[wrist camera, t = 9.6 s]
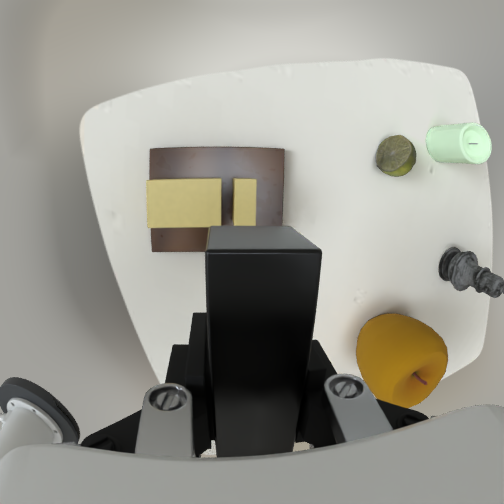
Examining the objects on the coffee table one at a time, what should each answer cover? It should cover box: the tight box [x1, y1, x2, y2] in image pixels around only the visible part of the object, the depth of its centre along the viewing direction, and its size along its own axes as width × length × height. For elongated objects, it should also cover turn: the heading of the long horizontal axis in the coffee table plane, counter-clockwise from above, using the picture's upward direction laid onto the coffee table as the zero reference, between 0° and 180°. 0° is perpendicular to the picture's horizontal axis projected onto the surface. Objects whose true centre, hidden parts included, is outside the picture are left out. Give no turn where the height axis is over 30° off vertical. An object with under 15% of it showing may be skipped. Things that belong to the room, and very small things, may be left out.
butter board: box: [149, 147, 285, 252], centre depth 31 cm, size 14×11×1 cm
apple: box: [356, 314, 448, 408], centre depth 32 cm, size 11×11×13 cm
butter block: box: [146, 178, 222, 228], centre depth 28 cm, size 7×4×4 cm, turn 89°
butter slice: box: [232, 178, 257, 226], centre depth 29 cm, size 2×4×4 cm, turn 178°
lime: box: [376, 135, 416, 177], centre depth 30 cm, size 4×5×5 cm
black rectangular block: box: [205, 226, 322, 458], centre depth 11 cm, size 2×10×8 cm, turn 178°
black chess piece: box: [439, 247, 504, 298], centre depth 31 cm, size 6×6×12 cm
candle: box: [426, 123, 491, 164], centre depth 28 cm, size 5×5×8 cm
